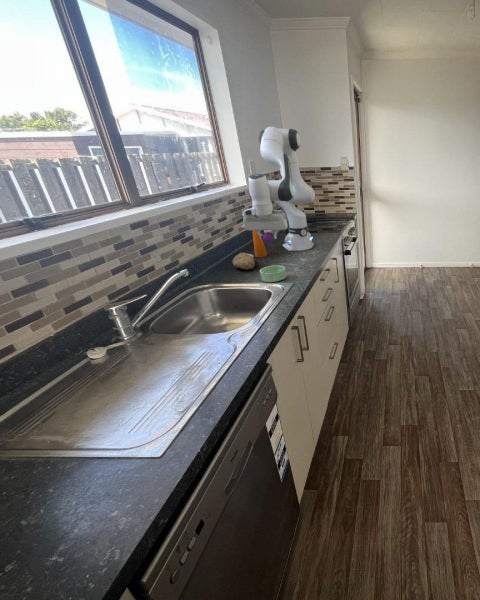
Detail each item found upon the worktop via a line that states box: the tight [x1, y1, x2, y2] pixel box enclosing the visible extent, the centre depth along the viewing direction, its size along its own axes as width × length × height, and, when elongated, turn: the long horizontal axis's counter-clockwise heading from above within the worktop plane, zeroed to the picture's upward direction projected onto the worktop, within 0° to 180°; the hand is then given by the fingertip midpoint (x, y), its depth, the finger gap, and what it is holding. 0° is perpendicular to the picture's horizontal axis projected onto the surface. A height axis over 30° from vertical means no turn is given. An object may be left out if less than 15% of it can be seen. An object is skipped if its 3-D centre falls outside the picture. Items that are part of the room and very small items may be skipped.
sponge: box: [231, 252, 256, 271], centre depth 183 cm, size 13×8×20 cm
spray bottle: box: [241, 213, 268, 259], centre depth 196 cm, size 7×11×26 cm, turn 123°
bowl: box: [259, 264, 287, 283], centre depth 167 cm, size 12×12×5 cm
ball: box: [262, 231, 274, 243], centre depth 162 cm, size 5×5×5 cm
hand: (268, 238), depth 162 cm, fingers closed on ball, 5 cm apart
